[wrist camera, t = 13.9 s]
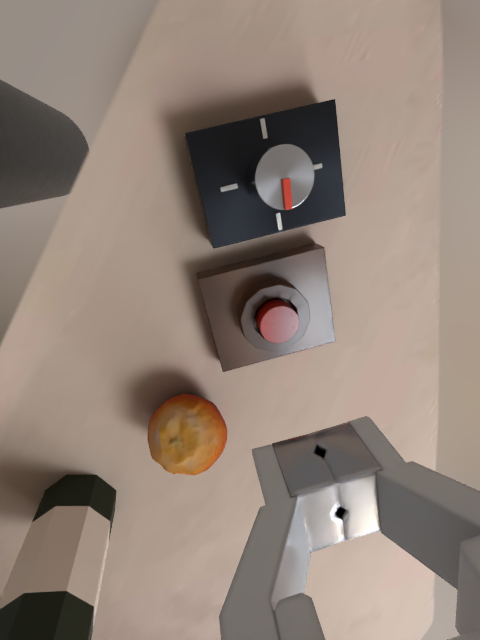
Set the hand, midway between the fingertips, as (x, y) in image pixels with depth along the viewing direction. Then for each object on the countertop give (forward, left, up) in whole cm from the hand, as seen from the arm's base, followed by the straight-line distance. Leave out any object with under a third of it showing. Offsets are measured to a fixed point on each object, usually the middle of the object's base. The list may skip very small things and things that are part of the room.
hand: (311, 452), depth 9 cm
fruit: (-7, -17, -27) cm, 33 cm away
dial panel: (+6, +5, -27) cm, 28 cm away
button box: (+4, -7, -27) cm, 28 cm away
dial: (+6, +5, -24) cm, 25 cm away
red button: (+4, -7, -23) cm, 25 cm away
